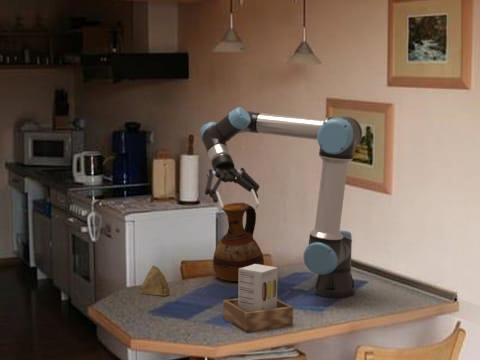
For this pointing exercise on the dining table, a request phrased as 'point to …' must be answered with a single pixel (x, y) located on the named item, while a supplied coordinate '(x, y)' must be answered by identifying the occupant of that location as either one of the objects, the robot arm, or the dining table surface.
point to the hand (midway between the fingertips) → (239, 207)
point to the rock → (155, 283)
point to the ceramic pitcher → (237, 243)
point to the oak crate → (258, 316)
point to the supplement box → (257, 288)
